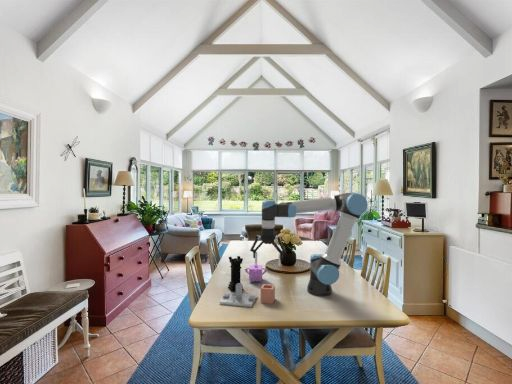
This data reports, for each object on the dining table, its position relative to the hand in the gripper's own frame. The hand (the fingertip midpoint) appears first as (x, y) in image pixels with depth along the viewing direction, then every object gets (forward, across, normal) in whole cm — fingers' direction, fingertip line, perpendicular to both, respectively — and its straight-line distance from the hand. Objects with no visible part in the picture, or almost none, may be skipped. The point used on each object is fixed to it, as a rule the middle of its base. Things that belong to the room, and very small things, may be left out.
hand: (267, 264), depth 160 cm
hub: (+21, 0, 0) cm, 21 cm away
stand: (+21, +16, +4) cm, 26 cm away
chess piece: (+21, +23, -13) cm, 34 cm away
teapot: (+21, +14, -32) cm, 41 cm away
